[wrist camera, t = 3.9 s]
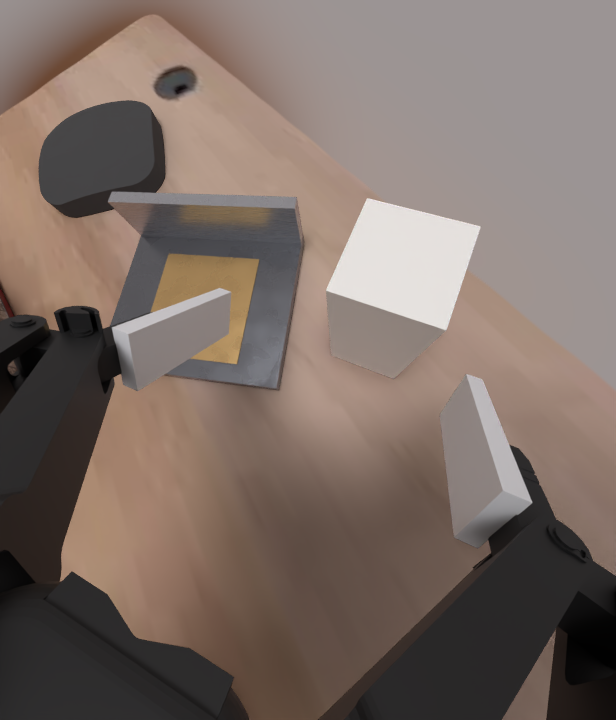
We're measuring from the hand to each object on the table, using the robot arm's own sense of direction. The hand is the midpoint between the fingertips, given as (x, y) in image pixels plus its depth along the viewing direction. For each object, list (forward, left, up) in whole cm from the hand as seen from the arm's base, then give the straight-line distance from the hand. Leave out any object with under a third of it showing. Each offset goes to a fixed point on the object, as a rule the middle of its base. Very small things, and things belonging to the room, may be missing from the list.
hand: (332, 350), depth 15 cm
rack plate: (+14, -7, -10) cm, 18 cm away
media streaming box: (+32, -25, -11) cm, 42 cm away
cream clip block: (-3, -5, -10) cm, 12 cm away
